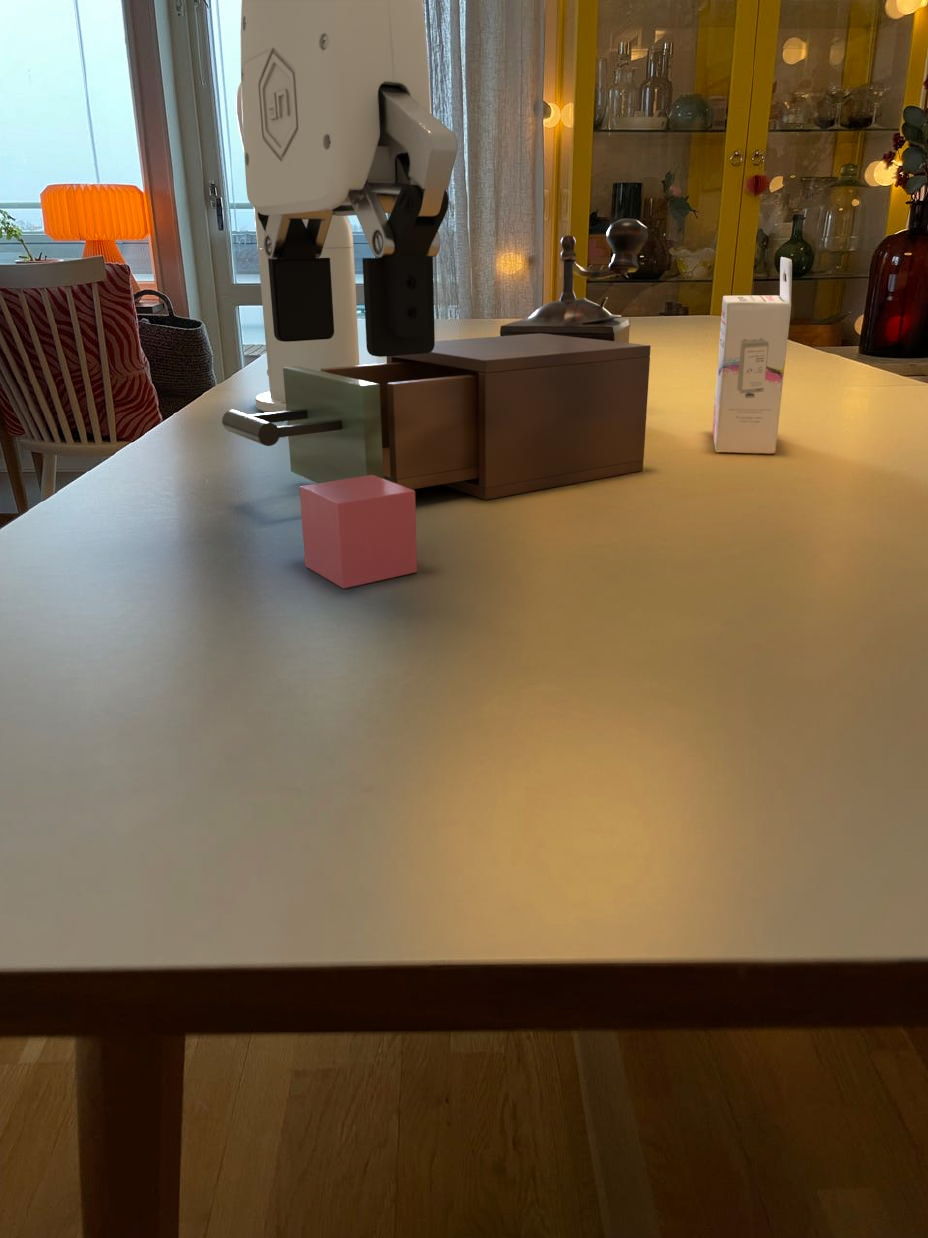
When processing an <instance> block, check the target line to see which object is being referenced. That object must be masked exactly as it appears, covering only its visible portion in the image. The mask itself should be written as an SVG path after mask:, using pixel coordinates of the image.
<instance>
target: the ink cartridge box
mask: <svg viewBox="0 0 928 1238" xmlns="http://www.w3.org/2000/svg"><path fill="white" fill-rule="evenodd" d="M779 261H780V262H779V265H780V266H779V295H777V294H775V295H723V296H722V303H721V310H720V311H721V312H720V313H721V314H720V315H721V316H720V326H719V327H720V328H719V329H720V330H719V343H718V357H717V368H716V381H715V394H714V404H713V405H714V407H713V417H712V429H711V431H712V432H711V433H712V438H713V444H714V451H715V453H738V454H768V455H769V454H770V455H771V454H775V453H776V450H777V443H778V433H779V422H780V415H781V404H782V403H781V402H782V395H783V386H784V378H785V377H784V375H785V367H786V359H787V351H788V342H789V341H788V340H789V331H790V321H791V311H792V283H793V282H792V281H793V261H792V259H791V258H788V257H785V256H784V257H783V256H781V257H780V260H779Z"/></svg>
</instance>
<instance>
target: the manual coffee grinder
mask: <svg viewBox="0 0 928 1238" xmlns="http://www.w3.org/2000/svg"><path fill="white" fill-rule="evenodd" d="M648 237H649V231H648V227H647V226H646V225H644V224H643V223H642V222H641V221H640V220H637V219H634V218H628V217H627V218H620V219H618V220H616V221H614V222H612V223H611V224H610V225H609V227H608V229H607V231H606V239H605V240H606V243H607V244H608V245H609V247H610V248H611V251H612V254H613V255H612V257H611V261H610V262H609V264H608V268H605V269H592V268H586V267H583V266H581V265H579V264H578V263H576V262H577V252H575V247H576V243H577V241H576V238H575V236H573V235H571V234H566V235H564V236H563V237H562V238H561V240H560V247H561V249H562V251H561V252H560V260H559V261H560V262H561V263H562V265H563V267H562V276H563V277H562V282H563V283H562V293H561V295H560V296H559V297H560V298H559V300H554V301H549V302H548V303H545V304H544V305H542V306H540V307H539V308H536V310H535V311H534V312H533V313H531V315H530V316H528V317H527V318H524V319H519V320H516V321H512V322H508V323H506V324H502V325H500V327H499V328H500V330H499V336H511V335H525V334H538V333H542V334H551V335H560V336H569V337H579V338H588V339H597V340H606V341H615V342H625V343H630V329H631V318H630V317H622V315H620V314H612V313H611V312H610V311H608V310H607V309H606V308H605V306H606V303H607V301H608V297H605V298H604V299H603V300H602V302H601V304H598V303H596V302H594V301H591V300H589V299H587V298H586V297H580V298H577V297H576V294H575V292H574V275H575V276H577V277H581V278H584V279H590V280H602V279H603V280H604V279H607V278H611V277H614V276H619V277H620V278H624V276H625V275H627V274H629V273H636V271H638V270H639V269H640V266H639V264H638V255H639V254H640V251H641V250H642V248H643V247H644V246H645V244H646V243H647V241H648Z"/></svg>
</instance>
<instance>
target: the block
mask: <svg viewBox="0 0 928 1238" xmlns="http://www.w3.org/2000/svg"><path fill="white" fill-rule="evenodd" d="M299 500H300V513H301V525H302V539H303V551H304V564H305V565H304V566H305V567H306V568H308V569H309V570H311V571H312V572H315V573H316V574H318V575H320V576H321V577H323V578H325V579H326V580H328V581H330V582H331V583H333V584H334V585H336V586H338V587H340V588H341V589H342V590H343V589H348V588H353V587H357V586H362V585H366V584H370V583H371V584H372V583H375V582H379V581H383V580H388V579H392V578H397V577H401V576H406V575H411V574H415V573H418V544H417V543H418V542H417V512H416V491H415V489H409V488H406V487H404V486H401V485H398V484H396V483H393V482H390V481H388V480H385V479H382V478H380V477H377V476H374V475H368V476H362V477H355V478H349V479H343V480H336V481H330V482H324V483H317V482H316V483H312V484H306V485H300V486H299Z"/></svg>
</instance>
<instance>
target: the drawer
mask: <svg viewBox="0 0 928 1238" xmlns="http://www.w3.org/2000/svg"><path fill="white" fill-rule="evenodd" d="M283 375H284V388H285V400H286V411H279V412H270V413H269V412H263V413H261V412H260V413H254V414H247V413H244V412H241V411H238V410H237V409H230V410H227V411H226V412H225V413H224V414H223V416H222V418H221V423H222V426H223V428H224V429H225V430H226V431H227V432H229V433H232V434H234V435H238V436H240V437H243V438H245V439H247V440H249V441H253V442H255V443H258V444H260V445H263V446H266V447H272V446H274V445H276V444H277V443H278V442H279V439H280V438H287V437H288V449H289V462H290V472H291V473H293V474H296V475H297V476H298V475H299V476H300V477H303V478H305V479H307V480H310V481H312V482H315V483H316V484H317V483H324V482H330V481H336V480H343V479H349V478H355V477H362V476H368V475H374V476H377V477H380V478H382V479H385V480H388V481H390V482H393V483H396V484H398V485H401V486H404V487H406V488H409V489H412V490H417V489H422V488H429V487H434V486H440V485H442V484H447V483H453V482H458V481H464V480H470V479H476V478H479V372H477V371H471V370H465V369H459V368H454V367H448V366H442V365H436V364H430V363H425V362H419V361H401V362H390V363H387V362H380V363H379V362H378V363H369V364H359V365H355V366H344V367H332V368H322V369H321V371H318V370H313V369H309V368H304V367H300V366H293V367H284V368H283ZM282 422H286V424H284V425H276V424H275V423H282Z"/></svg>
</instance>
